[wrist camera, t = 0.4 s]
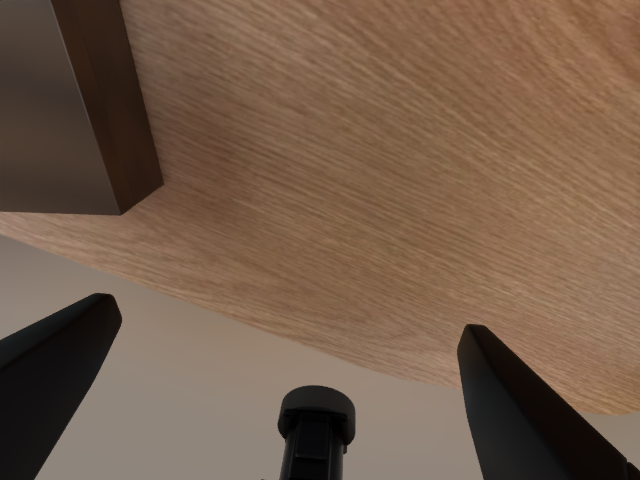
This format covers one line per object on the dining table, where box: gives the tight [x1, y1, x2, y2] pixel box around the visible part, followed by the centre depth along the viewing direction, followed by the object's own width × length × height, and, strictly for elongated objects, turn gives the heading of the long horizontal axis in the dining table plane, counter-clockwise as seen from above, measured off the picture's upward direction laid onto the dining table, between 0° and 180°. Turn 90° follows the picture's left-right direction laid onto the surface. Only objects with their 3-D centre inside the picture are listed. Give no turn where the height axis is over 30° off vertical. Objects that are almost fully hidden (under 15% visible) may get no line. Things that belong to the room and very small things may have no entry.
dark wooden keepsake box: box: [0, 0, 163, 216], centre depth 17 cm, size 12×10×4 cm
